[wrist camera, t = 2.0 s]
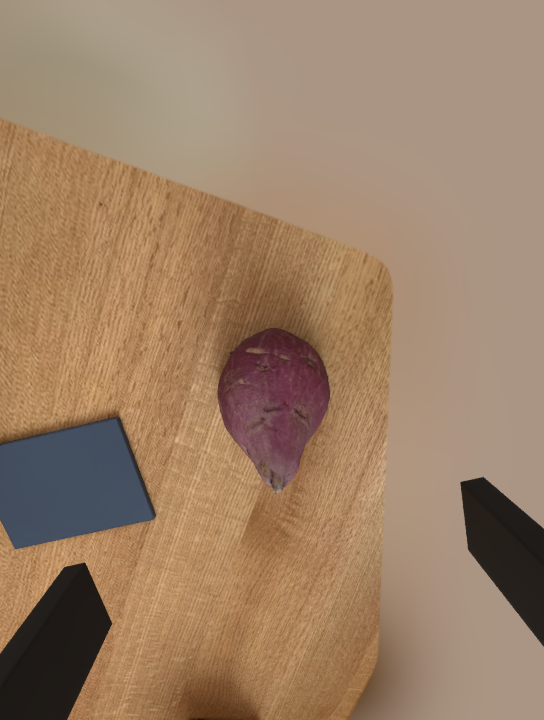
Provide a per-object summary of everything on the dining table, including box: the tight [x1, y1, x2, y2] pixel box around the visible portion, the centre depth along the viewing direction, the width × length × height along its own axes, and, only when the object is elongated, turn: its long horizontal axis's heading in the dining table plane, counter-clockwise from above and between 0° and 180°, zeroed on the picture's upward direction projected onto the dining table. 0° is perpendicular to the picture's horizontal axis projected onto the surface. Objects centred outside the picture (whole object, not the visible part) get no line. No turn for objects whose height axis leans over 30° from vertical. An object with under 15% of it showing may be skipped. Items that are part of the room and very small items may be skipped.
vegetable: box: [218, 328, 330, 494], centre depth 25 cm, size 10×10×15 cm
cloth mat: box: [0, 417, 156, 549], centre depth 32 cm, size 16×12×1 cm
